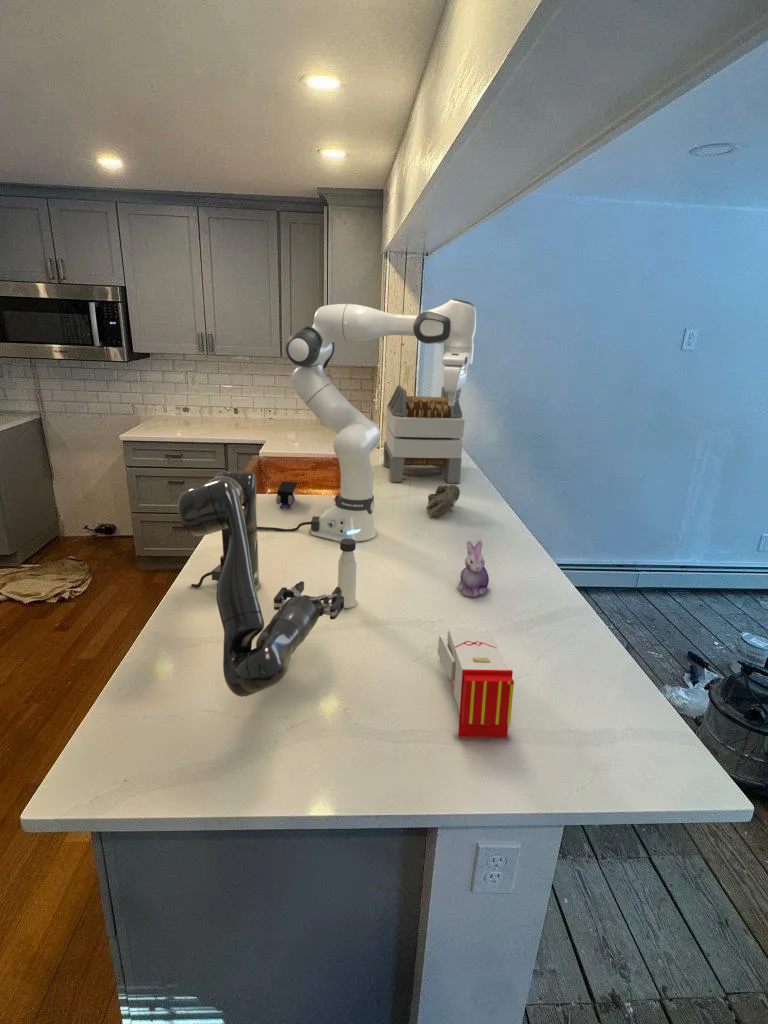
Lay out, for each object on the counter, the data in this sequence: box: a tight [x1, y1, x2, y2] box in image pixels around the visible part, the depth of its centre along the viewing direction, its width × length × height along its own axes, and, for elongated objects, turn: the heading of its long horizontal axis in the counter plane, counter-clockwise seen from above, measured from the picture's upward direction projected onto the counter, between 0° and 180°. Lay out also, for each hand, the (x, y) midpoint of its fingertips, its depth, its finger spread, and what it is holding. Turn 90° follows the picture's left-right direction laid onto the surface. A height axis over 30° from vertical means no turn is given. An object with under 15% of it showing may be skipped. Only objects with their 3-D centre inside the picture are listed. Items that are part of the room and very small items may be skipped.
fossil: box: [426, 484, 461, 519], centre depth 223 cm, size 22×10×15 cm
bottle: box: [337, 550, 358, 609], centre depth 149 cm, size 5×5×18 cm
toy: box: [437, 628, 515, 738], centre depth 117 cm, size 12×13×30 cm
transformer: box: [383, 384, 465, 484], centre depth 268 cm, size 34×33×41 cm
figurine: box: [459, 539, 490, 598], centre depth 159 cm, size 9×10×15 cm
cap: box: [339, 539, 357, 552], centre depth 146 cm, size 4×4×2 cm
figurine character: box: [275, 480, 298, 509], centre depth 223 cm, size 7×8×15 cm
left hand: (320, 587), depth 127 cm, fingers open, 8 cm apart
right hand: (454, 403), depth 174 cm, fingers open, 8 cm apart
